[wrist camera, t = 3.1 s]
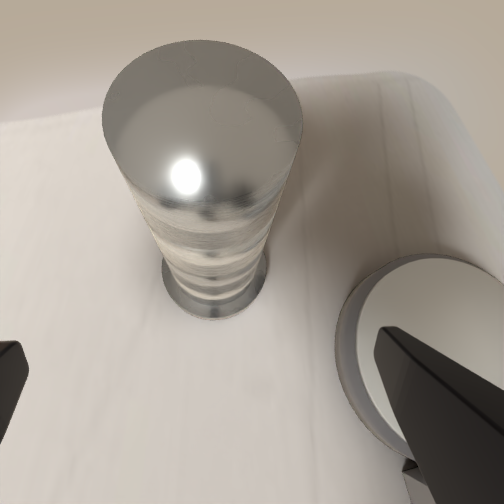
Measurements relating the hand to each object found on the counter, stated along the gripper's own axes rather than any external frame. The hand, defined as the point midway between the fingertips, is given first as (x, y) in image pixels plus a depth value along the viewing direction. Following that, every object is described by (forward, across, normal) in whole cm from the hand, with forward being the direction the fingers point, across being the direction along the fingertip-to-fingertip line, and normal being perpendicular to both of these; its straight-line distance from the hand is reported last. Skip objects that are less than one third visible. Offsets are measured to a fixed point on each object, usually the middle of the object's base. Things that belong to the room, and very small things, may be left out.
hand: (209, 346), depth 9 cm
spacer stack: (+12, 0, +5) cm, 13 cm away
